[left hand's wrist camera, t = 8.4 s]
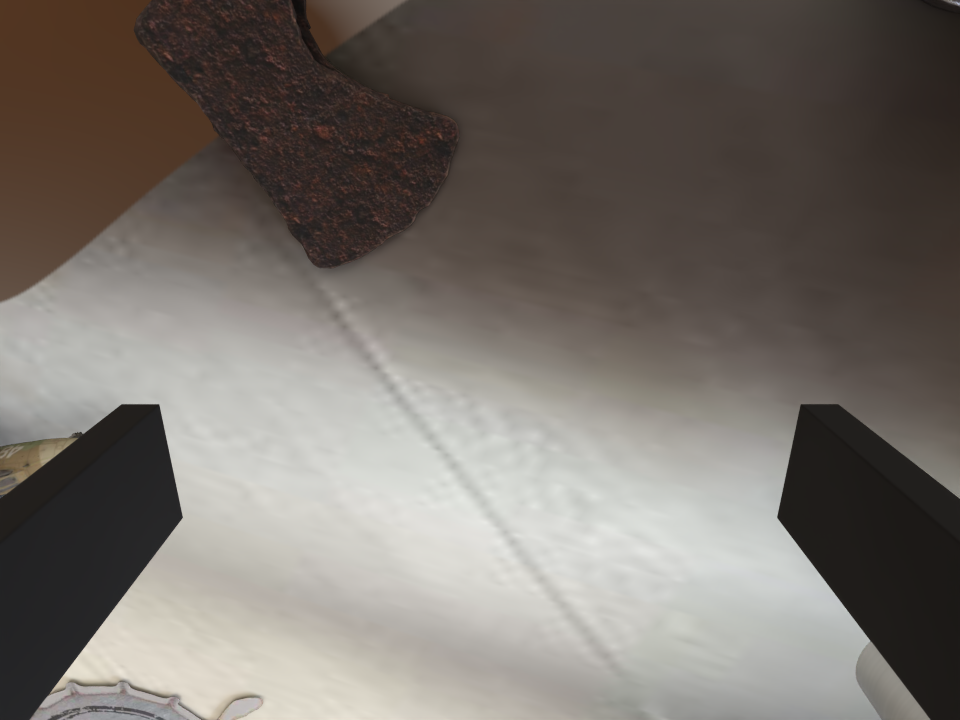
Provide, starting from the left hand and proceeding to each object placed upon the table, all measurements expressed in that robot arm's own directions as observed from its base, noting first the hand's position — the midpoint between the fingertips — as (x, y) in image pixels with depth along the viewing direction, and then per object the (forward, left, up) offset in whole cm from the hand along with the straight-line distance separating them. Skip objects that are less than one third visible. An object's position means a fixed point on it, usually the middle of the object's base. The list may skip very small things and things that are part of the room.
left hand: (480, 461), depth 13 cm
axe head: (+3, -12, -32) cm, 35 cm away
